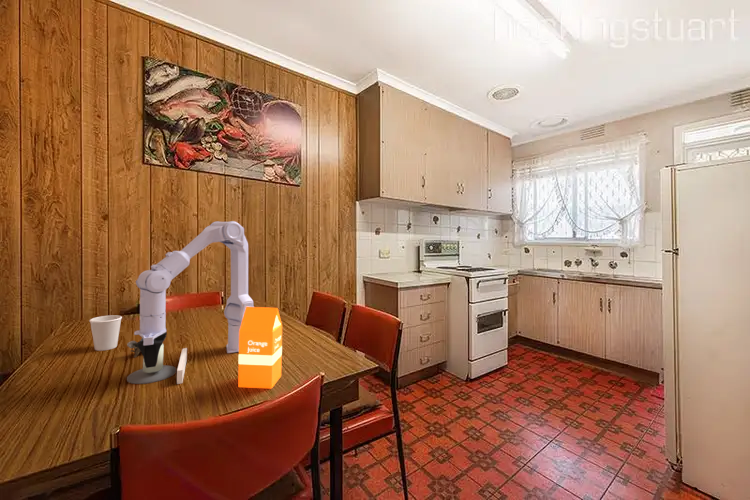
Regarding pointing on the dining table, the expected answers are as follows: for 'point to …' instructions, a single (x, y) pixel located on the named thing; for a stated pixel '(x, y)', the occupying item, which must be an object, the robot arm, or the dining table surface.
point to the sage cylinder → (159, 362)
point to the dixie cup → (105, 331)
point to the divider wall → (181, 366)
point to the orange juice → (260, 348)
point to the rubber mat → (151, 375)
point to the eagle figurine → (135, 347)
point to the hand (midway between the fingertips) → (152, 363)
